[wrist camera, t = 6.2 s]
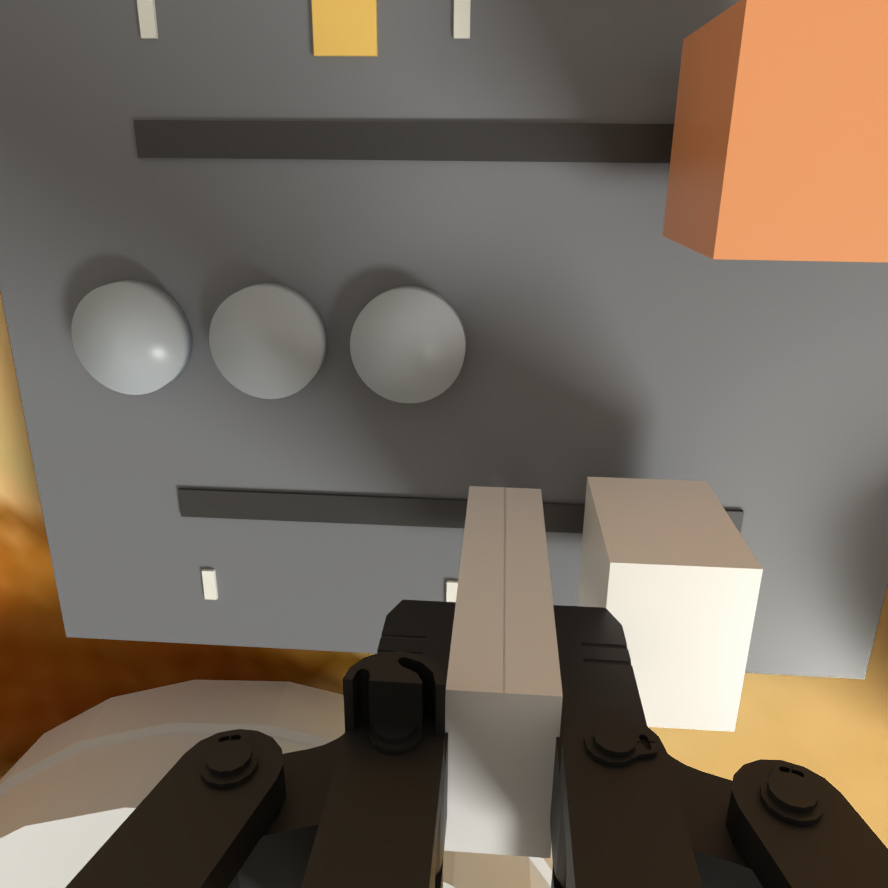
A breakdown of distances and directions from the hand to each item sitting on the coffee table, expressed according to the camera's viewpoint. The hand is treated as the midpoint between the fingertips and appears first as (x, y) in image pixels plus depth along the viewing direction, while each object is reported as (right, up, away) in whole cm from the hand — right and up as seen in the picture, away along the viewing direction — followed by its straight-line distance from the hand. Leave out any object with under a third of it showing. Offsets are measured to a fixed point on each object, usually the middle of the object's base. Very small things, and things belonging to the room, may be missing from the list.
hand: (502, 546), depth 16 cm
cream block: (+3, 0, +1) cm, 3 cm away
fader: (+4, +8, -2) cm, 9 cm away
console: (-1, +5, +3) cm, 6 cm away
